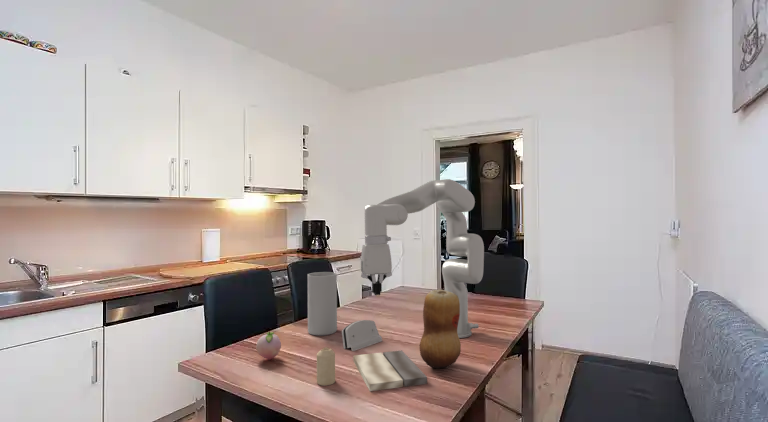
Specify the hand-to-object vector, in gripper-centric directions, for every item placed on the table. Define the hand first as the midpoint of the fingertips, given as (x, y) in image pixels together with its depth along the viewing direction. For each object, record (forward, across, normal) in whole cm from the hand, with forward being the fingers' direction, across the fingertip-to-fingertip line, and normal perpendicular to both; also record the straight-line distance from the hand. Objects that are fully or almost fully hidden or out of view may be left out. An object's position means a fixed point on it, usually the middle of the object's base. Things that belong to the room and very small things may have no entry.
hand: (376, 294), depth 133 cm
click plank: (+23, +3, +9) cm, 25 cm away
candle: (+23, +19, +10) cm, 32 cm away
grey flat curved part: (+24, +1, -21) cm, 32 cm away
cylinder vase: (+24, +14, -42) cm, 50 cm away
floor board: (+23, -6, +9) cm, 26 cm away
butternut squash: (+24, -19, +10) cm, 32 cm away
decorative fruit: (+23, +36, -14) cm, 45 cm away
